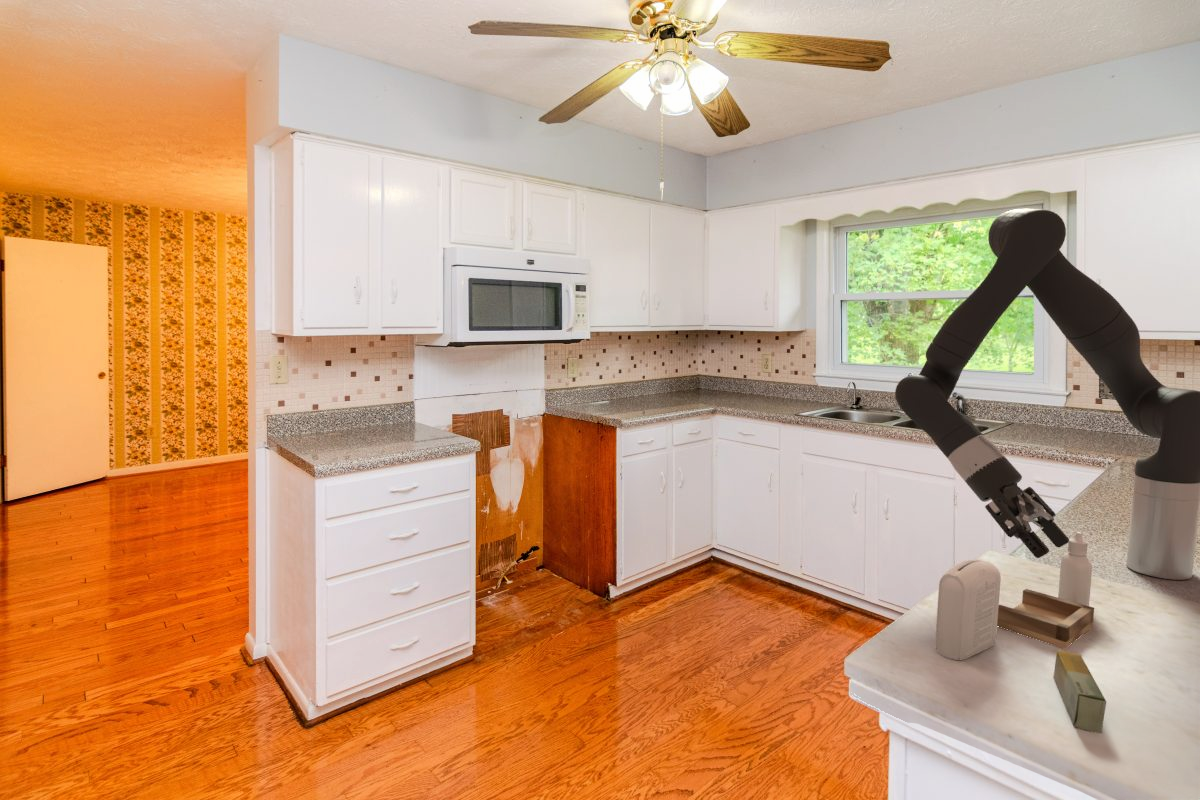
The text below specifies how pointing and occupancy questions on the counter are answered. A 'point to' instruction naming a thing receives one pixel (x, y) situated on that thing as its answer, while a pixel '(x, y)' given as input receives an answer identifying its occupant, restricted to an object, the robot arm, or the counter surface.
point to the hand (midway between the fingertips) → (1054, 549)
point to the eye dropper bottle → (1075, 572)
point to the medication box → (1079, 692)
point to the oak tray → (1047, 618)
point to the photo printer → (967, 609)
